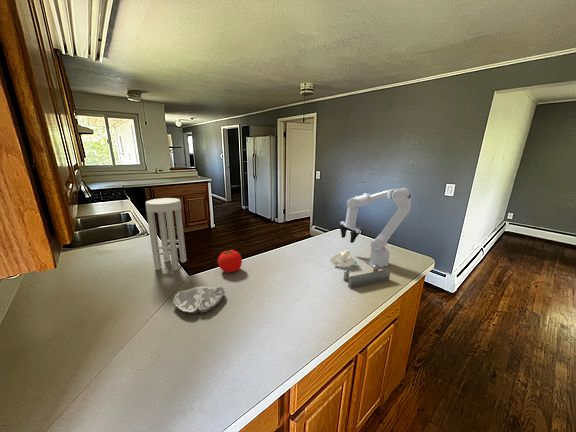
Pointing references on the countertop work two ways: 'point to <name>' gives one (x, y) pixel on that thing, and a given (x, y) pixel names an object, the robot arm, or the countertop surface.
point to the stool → (168, 207)
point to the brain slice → (198, 299)
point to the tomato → (230, 261)
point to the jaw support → (343, 259)
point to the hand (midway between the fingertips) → (347, 239)
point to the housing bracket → (366, 277)
